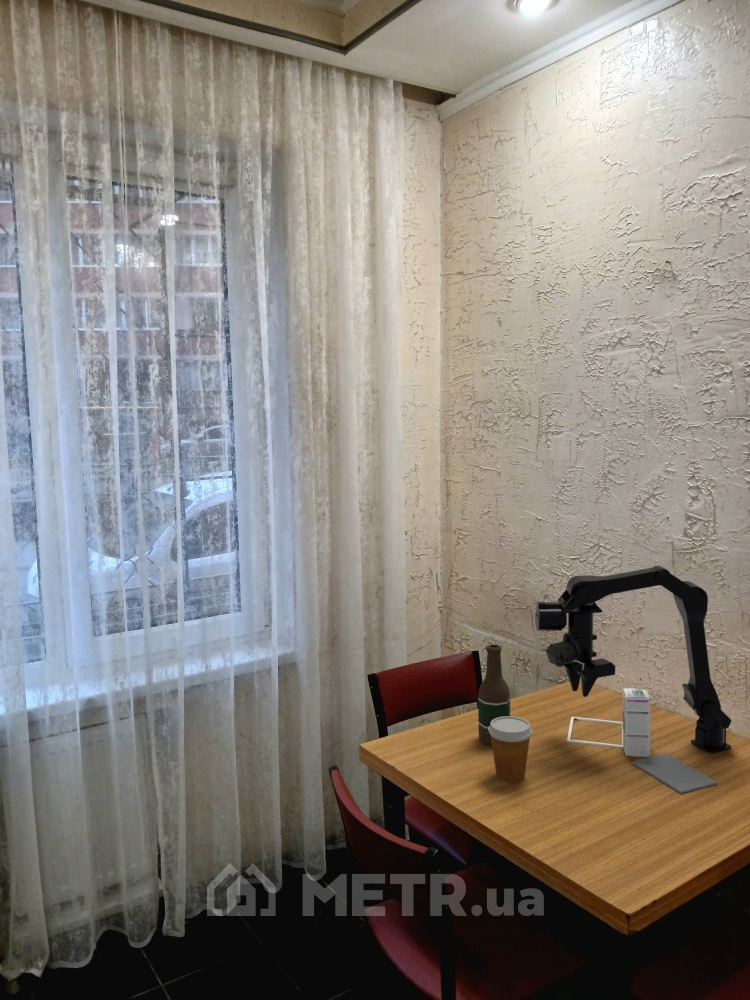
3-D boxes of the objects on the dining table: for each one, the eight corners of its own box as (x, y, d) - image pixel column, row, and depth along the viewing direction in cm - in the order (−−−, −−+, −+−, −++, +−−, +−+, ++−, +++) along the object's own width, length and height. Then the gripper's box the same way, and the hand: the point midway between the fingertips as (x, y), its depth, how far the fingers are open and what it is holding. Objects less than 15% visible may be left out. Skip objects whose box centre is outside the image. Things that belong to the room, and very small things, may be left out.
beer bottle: (512, 747, 181) (512, 650, 178) (480, 747, 181) (479, 651, 178) (507, 733, 189) (507, 640, 186) (476, 734, 189) (475, 641, 186)
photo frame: (645, 748, 178) (567, 739, 183) (645, 752, 178) (567, 743, 183) (644, 723, 191) (571, 715, 197) (644, 727, 191) (571, 720, 197)
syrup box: (650, 757, 174) (651, 697, 172) (624, 756, 175) (624, 696, 174) (647, 747, 180) (648, 688, 178) (621, 745, 181) (622, 687, 179)
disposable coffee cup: (484, 782, 164) (484, 730, 163) (493, 763, 173) (493, 713, 172) (528, 789, 161) (528, 735, 160) (535, 769, 170) (535, 718, 169)
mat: (666, 755, 175) (666, 753, 175) (717, 784, 161) (717, 782, 161) (631, 763, 171) (631, 761, 171) (680, 794, 158) (680, 791, 157)
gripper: (529, 624, 183) (529, 686, 185) (576, 645, 166) (576, 713, 168) (567, 618, 187) (567, 679, 189) (617, 639, 170) (616, 705, 172)
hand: (580, 693), depth 180 cm, fingers open, 4 cm apart
